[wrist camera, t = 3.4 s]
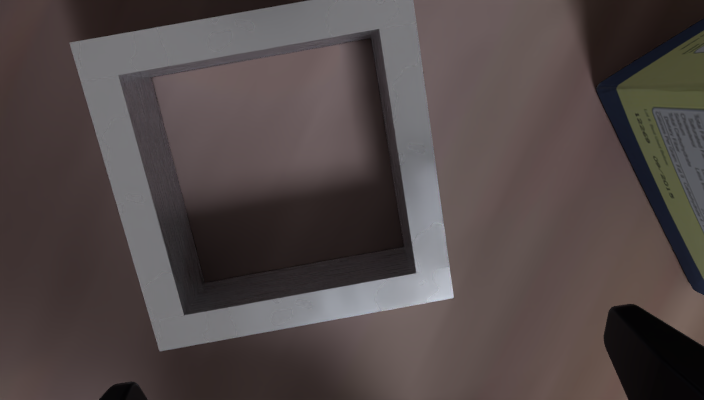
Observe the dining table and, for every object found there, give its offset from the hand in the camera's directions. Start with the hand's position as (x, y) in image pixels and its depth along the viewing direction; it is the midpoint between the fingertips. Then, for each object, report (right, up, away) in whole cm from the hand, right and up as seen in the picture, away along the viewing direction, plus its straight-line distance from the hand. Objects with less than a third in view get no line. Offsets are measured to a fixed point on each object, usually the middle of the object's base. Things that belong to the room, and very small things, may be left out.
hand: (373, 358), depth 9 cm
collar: (-3, +4, +10) cm, 11 cm away
